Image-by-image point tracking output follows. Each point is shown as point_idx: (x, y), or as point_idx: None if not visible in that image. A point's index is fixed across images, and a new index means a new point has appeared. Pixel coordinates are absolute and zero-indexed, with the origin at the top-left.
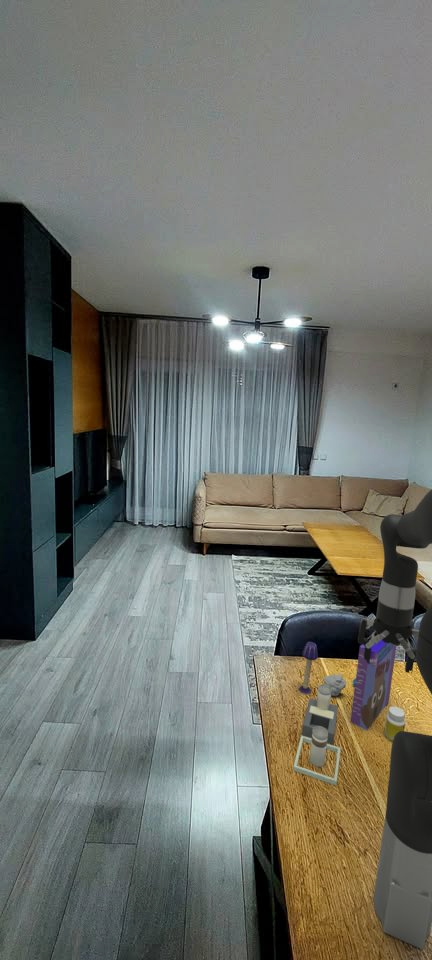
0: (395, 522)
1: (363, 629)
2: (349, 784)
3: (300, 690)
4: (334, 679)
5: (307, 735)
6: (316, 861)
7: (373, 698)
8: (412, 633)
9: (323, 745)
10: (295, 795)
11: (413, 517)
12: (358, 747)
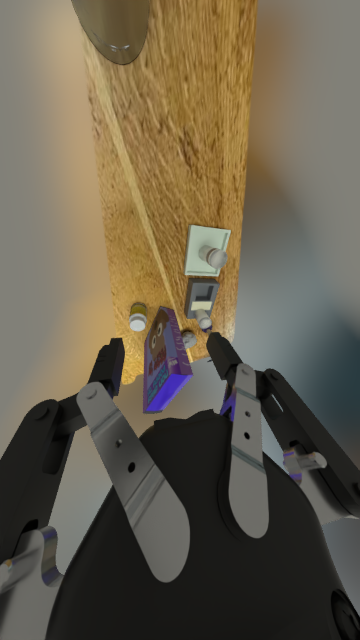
0: None
1: (317, 437)
2: (175, 237)
3: (211, 326)
4: (190, 342)
5: (211, 280)
6: (218, 78)
7: (160, 330)
8: (49, 617)
9: (211, 250)
10: (228, 198)
11: None
12: (167, 288)
